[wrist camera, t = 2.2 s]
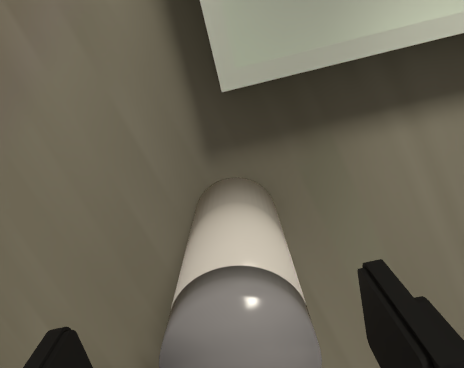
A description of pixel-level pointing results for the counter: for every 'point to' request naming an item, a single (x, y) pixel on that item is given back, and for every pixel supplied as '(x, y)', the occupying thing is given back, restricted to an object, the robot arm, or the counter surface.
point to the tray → (316, 33)
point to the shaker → (238, 289)
